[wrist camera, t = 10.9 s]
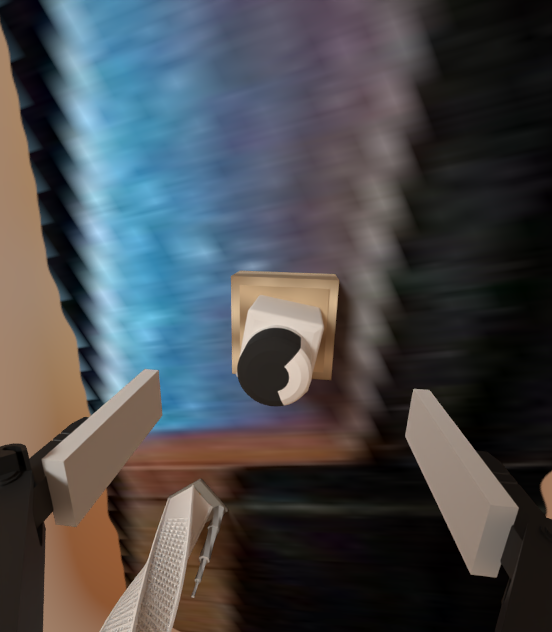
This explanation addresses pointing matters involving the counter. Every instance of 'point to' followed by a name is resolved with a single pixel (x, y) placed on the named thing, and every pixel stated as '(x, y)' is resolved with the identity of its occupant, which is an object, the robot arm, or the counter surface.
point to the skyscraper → (169, 562)
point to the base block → (291, 288)
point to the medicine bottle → (279, 350)
